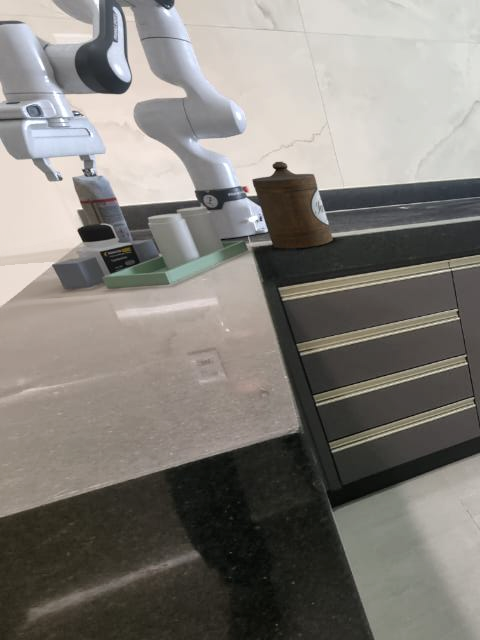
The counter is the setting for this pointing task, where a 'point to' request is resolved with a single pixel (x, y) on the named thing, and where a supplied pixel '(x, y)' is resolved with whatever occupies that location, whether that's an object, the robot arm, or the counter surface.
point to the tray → (160, 275)
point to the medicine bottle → (106, 248)
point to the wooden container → (292, 209)
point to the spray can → (101, 204)
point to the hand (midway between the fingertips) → (74, 178)
